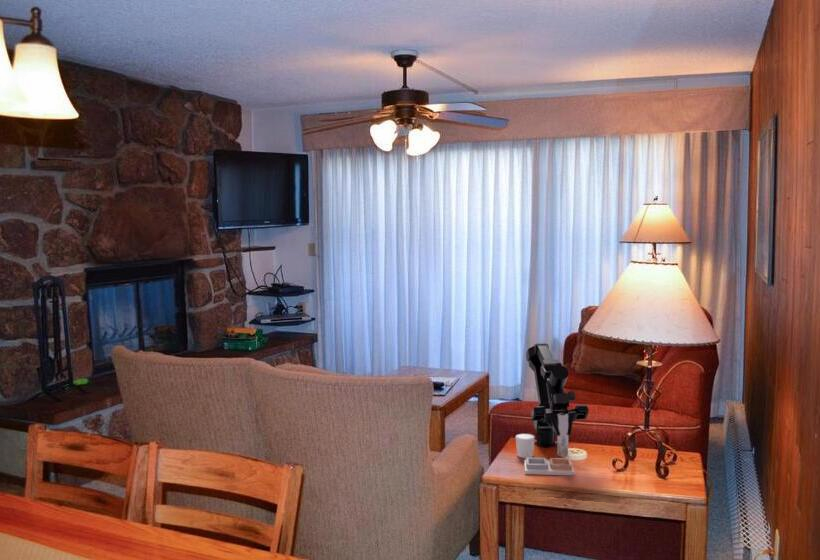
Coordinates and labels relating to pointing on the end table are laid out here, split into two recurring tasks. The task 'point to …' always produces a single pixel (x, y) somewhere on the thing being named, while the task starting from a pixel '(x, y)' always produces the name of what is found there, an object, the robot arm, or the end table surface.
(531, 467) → the grey compartment tray
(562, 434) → the steel pin
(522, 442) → the white cup
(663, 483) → the end table surface
